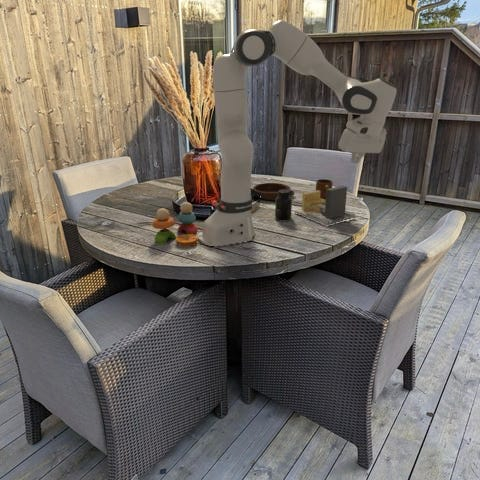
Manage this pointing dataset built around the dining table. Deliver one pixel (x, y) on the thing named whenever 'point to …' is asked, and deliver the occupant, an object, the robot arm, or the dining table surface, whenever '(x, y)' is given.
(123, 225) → the dining table surface
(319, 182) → the mug
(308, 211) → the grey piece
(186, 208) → the wooden stacking toy
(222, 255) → the dining table surface
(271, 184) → the dish
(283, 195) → the supplement bottle
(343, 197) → the gray rectangular block
